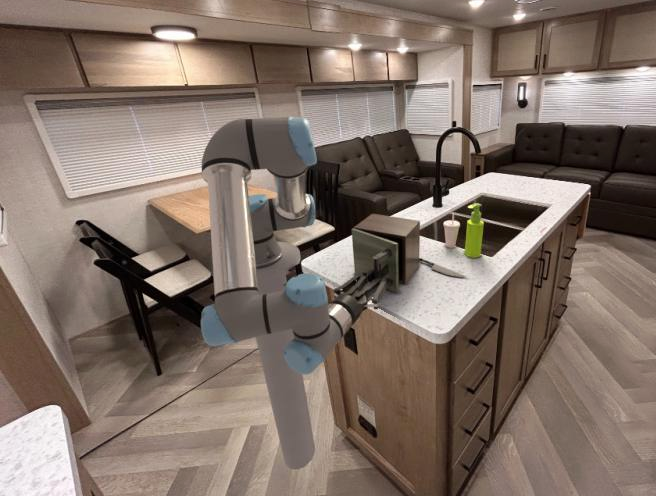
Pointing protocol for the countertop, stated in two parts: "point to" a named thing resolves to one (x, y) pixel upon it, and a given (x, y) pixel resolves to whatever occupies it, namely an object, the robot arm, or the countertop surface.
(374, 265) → the cupboard door
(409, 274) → the cupboard
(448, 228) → the smoothie
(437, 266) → the chef's knife
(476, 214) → the soap dispenser
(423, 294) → the countertop surface
